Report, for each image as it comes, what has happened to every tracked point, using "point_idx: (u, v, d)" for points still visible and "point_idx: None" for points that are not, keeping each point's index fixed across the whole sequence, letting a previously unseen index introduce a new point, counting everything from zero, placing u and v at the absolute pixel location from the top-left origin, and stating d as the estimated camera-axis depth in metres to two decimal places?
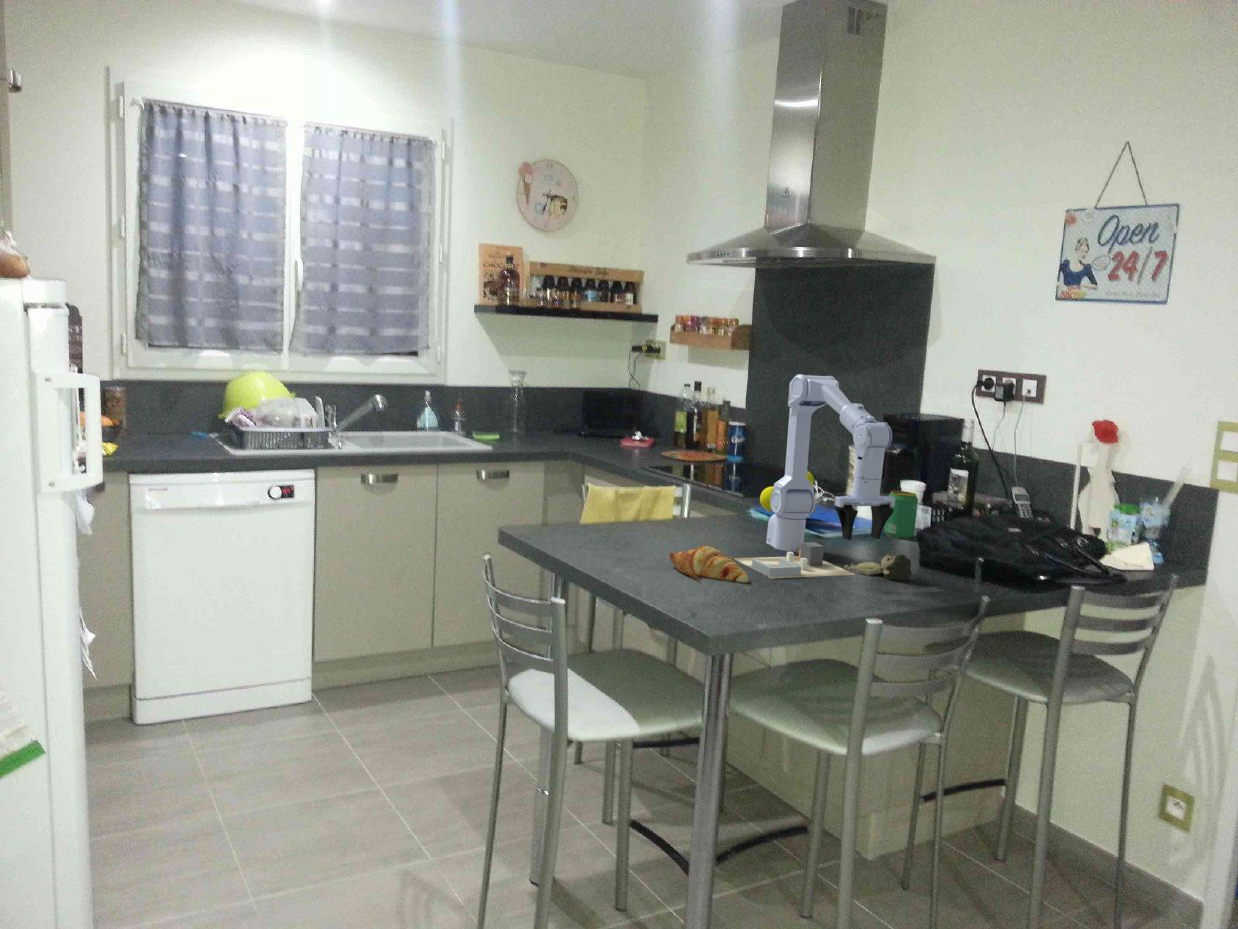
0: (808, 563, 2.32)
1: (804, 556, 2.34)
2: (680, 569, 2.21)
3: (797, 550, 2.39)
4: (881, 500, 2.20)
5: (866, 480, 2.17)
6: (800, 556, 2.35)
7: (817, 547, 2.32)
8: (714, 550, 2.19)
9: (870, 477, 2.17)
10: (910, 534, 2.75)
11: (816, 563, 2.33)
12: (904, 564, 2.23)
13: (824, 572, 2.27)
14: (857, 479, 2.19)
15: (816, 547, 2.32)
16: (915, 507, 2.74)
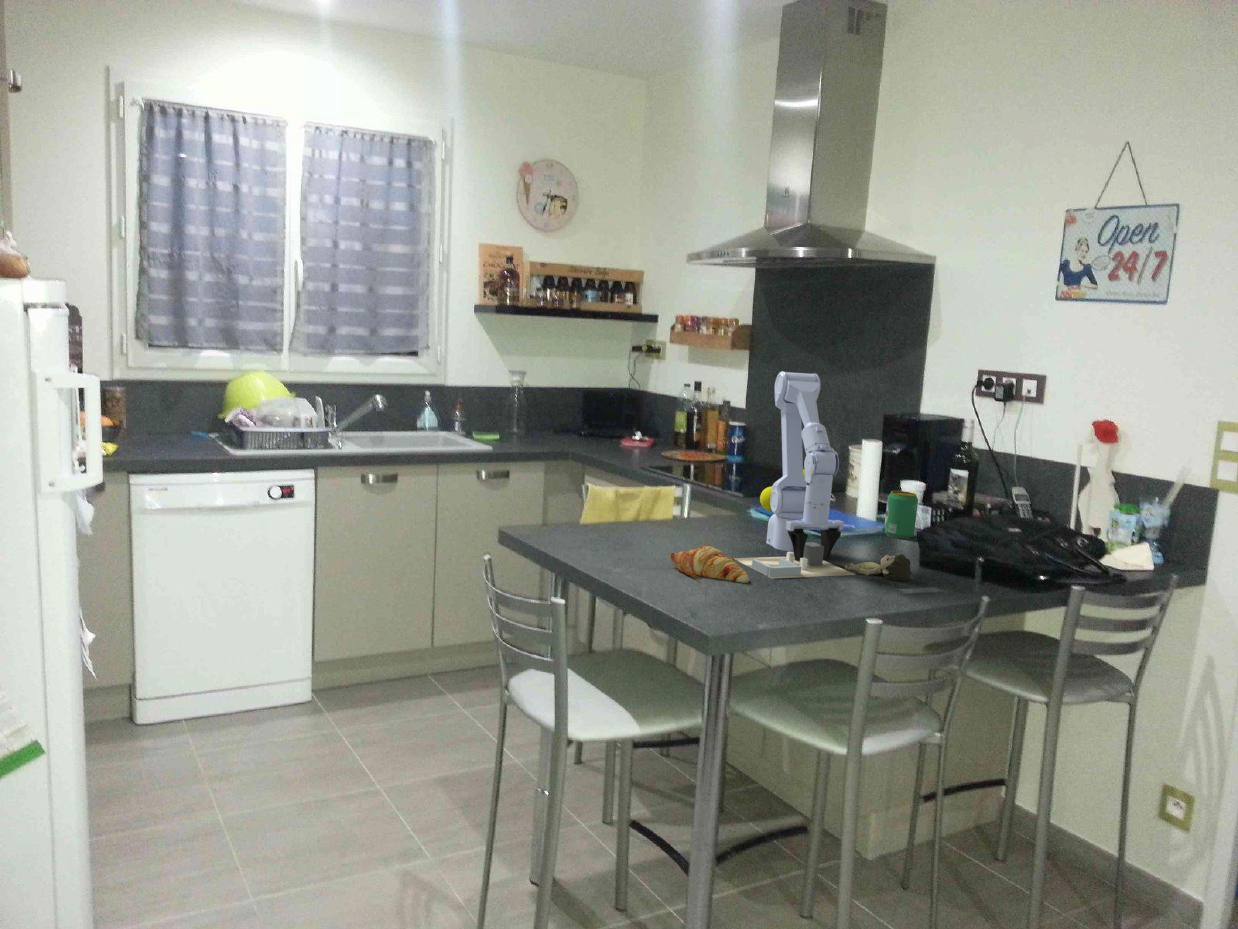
0: (808, 563, 2.32)
1: (804, 556, 2.34)
2: (681, 569, 2.21)
3: None
4: (830, 524, 2.32)
5: (815, 505, 2.30)
6: None
7: (817, 547, 2.32)
8: (715, 550, 2.19)
9: (816, 502, 2.29)
10: (910, 534, 2.75)
11: (816, 563, 2.33)
12: (903, 564, 2.23)
13: (824, 572, 2.27)
14: (807, 504, 2.31)
15: (816, 547, 2.32)
16: (915, 507, 2.74)
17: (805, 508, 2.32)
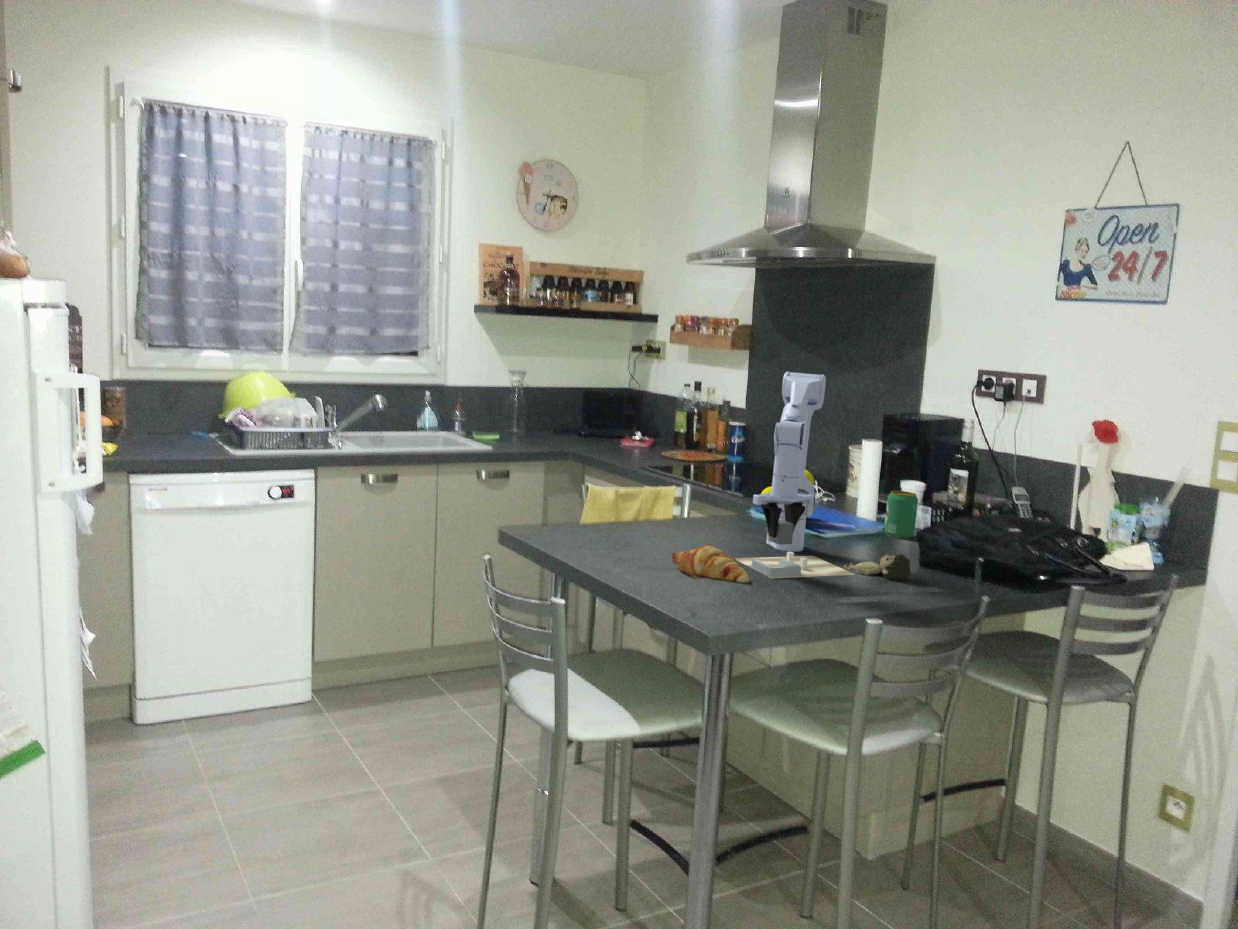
0: (777, 542, 2.21)
1: None
2: (681, 569, 2.21)
3: (766, 529, 2.28)
4: (799, 498, 2.21)
5: (783, 478, 2.19)
6: None
7: (786, 525, 2.21)
8: (715, 550, 2.19)
9: (779, 474, 2.19)
10: (910, 534, 2.75)
11: (785, 542, 2.21)
12: (903, 564, 2.24)
13: (824, 572, 2.27)
14: (775, 477, 2.20)
15: (785, 525, 2.21)
16: (915, 507, 2.74)
17: (773, 481, 2.21)
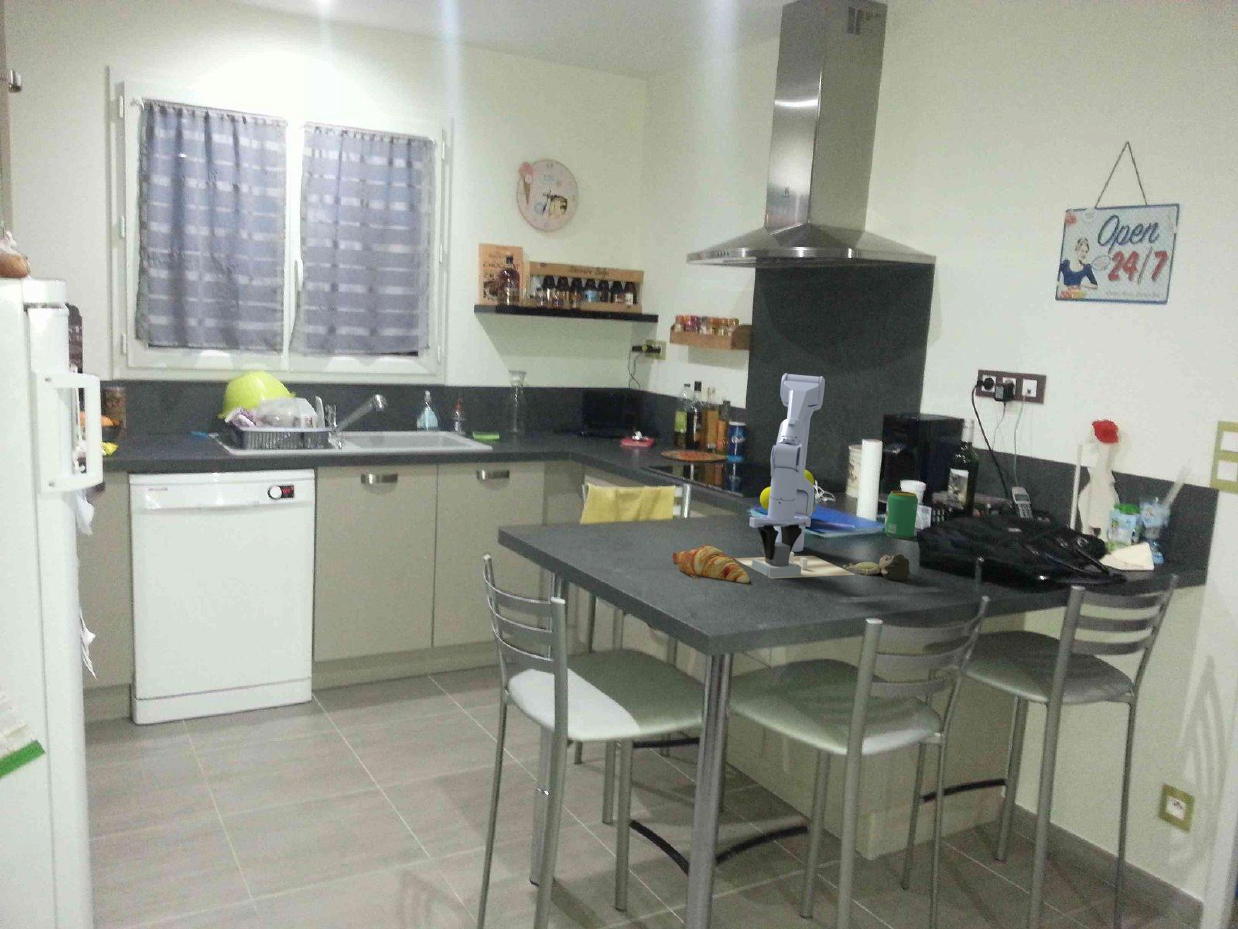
0: (773, 564, 2.22)
1: None
2: (682, 569, 2.22)
3: (763, 550, 2.28)
4: (796, 521, 2.21)
5: (780, 501, 2.19)
6: None
7: (783, 547, 2.21)
8: (716, 550, 2.19)
9: (775, 497, 2.20)
10: (910, 534, 2.75)
11: (782, 564, 2.22)
12: (902, 564, 2.24)
13: (824, 572, 2.27)
14: (771, 500, 2.21)
15: (782, 547, 2.21)
16: (915, 507, 2.74)
17: (770, 504, 2.21)
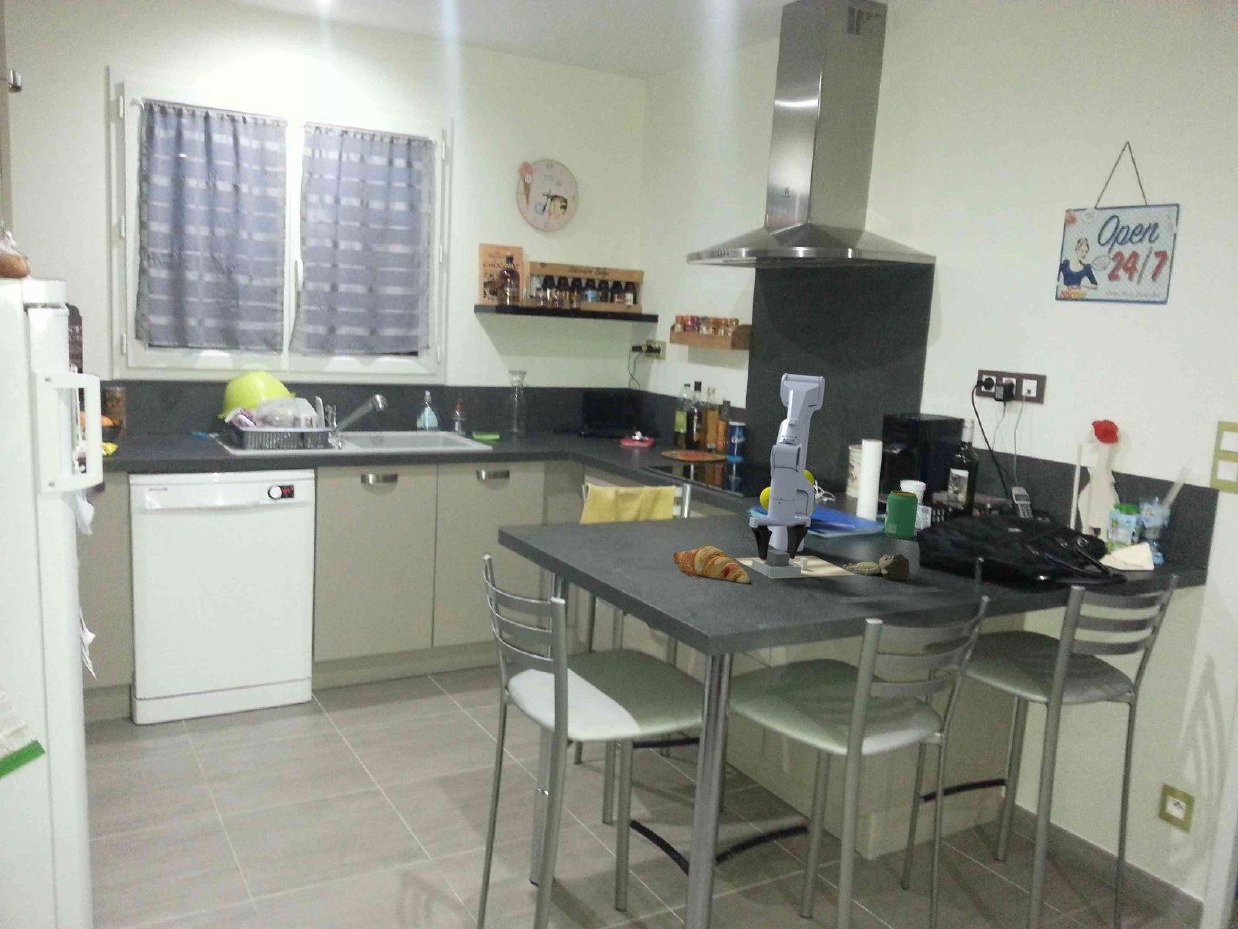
0: None
1: (769, 564, 2.23)
2: (682, 568, 2.22)
3: None
4: (796, 520, 2.21)
5: (780, 501, 2.19)
6: None
7: (782, 555, 2.22)
8: (716, 550, 2.19)
9: (775, 497, 2.20)
10: (910, 534, 2.75)
11: None
12: (902, 564, 2.24)
13: (824, 572, 2.27)
14: (771, 500, 2.21)
15: (781, 555, 2.22)
16: (915, 507, 2.74)
17: (770, 504, 2.21)
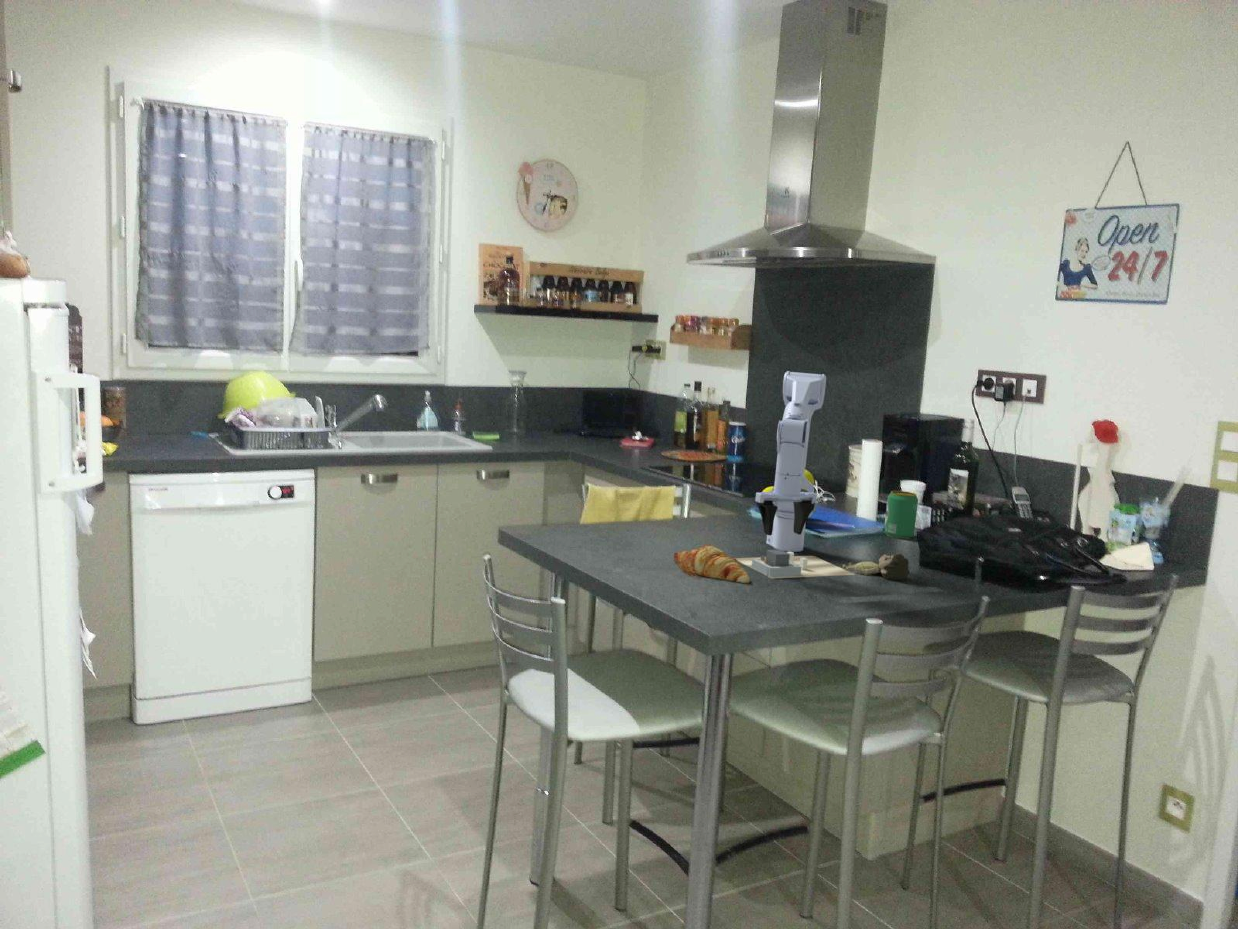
0: None
1: (769, 564, 2.23)
2: (683, 569, 2.22)
3: (762, 558, 2.28)
4: (802, 496, 2.22)
5: (786, 476, 2.20)
6: None
7: (782, 555, 2.22)
8: (716, 550, 2.19)
9: (782, 472, 2.20)
10: (910, 534, 2.75)
11: None
12: (902, 563, 2.24)
13: (824, 572, 2.27)
14: (777, 475, 2.21)
15: (781, 555, 2.22)
16: (915, 507, 2.74)
17: (776, 479, 2.22)
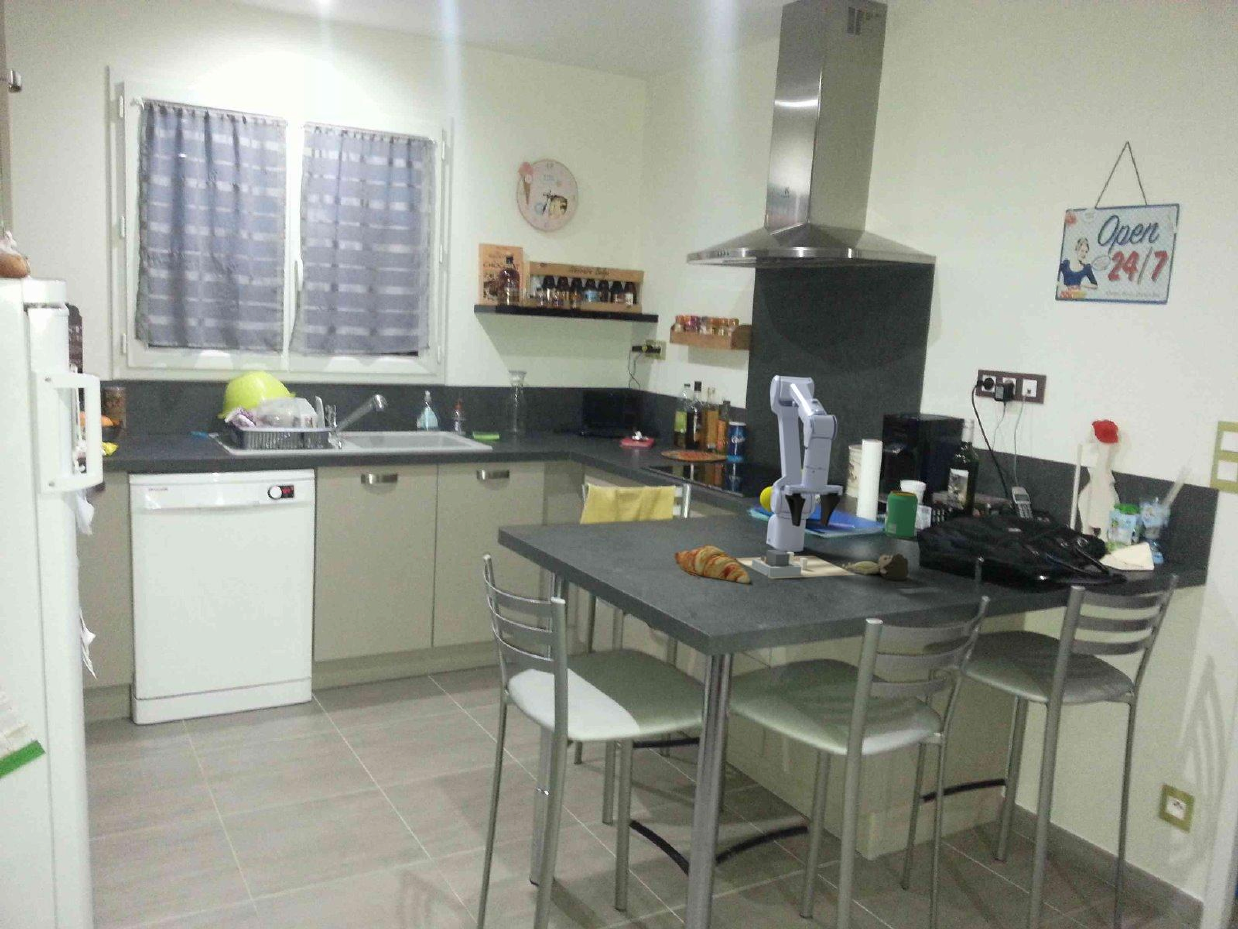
0: None
1: (769, 564, 2.23)
2: (683, 568, 2.22)
3: (762, 558, 2.28)
4: (828, 489, 2.31)
5: (814, 470, 2.29)
6: None
7: (782, 555, 2.22)
8: (717, 550, 2.19)
9: (814, 466, 2.28)
10: (910, 534, 2.75)
11: None
12: (901, 563, 2.24)
13: (824, 572, 2.27)
14: (805, 469, 2.30)
15: (781, 555, 2.22)
16: (915, 507, 2.74)
17: (804, 472, 2.31)
